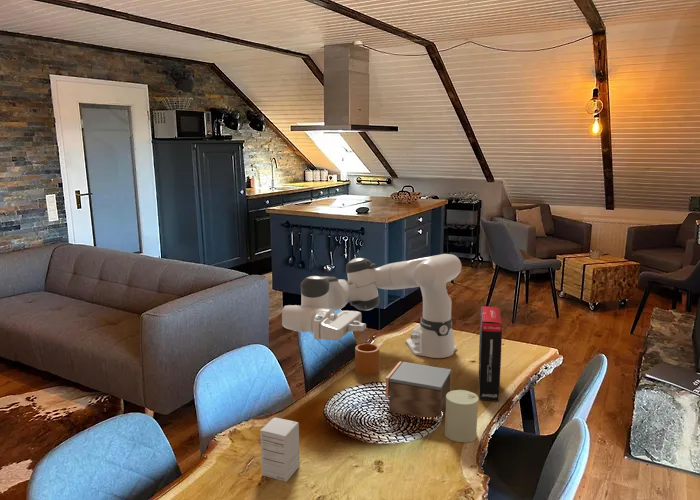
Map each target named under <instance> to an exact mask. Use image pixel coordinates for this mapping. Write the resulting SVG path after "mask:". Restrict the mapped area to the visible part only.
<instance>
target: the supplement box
mask: <svg viewBox="0 0 700 500" xmlns="http://www.w3.org/2000/svg"><path fill="white" fill-rule="evenodd" d="M299 425H300V424H299V422H297V421H294V420H289V419H286V418H284V419H283V418H280V417H272V418H271V420H270V421H268V423H266V424H265V425H264V426H263V427H262V428H261V429H260V431H259V432H260V433H259V434H260V438H259V439H260V458H261V459H260V460H261V475H262V476H264V477H267V478H270V479H275V480H278V481H282V482H288V481H289V480H290V478H291V477H293V475H294V473H295V472H296V471H297V470H298V469H299V468H300V467H301V466H300V465H301V464H300V463H301V461H300V457H301V456H300V426H299Z"/></svg>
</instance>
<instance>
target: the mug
mask: <svg viewBox="0 0 700 500" xmlns="http://www.w3.org/2000/svg"><path fill="white" fill-rule="evenodd" d="M354 354H355V355H354V359H355V360H354V366H355V368H354V369H355V370H354V371H355V373H357V374H358V373H359V375H362V376H373V375H377V374H378V373H380V347H379V345H377V344H375V343H368V342H366V343H365V342H364V343H359V344H357V345H355V348H354Z"/></svg>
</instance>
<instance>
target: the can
mask: <svg viewBox="0 0 700 500" xmlns="http://www.w3.org/2000/svg"><path fill="white" fill-rule="evenodd" d="M479 400H480V399H479V395H477V394H476V393H474V392H472V391H470V390H466V389H456V390H455V389H454V390H450V392H448V393H447V394H446V411H445V421H444V423H445V424H444V431H443V433H444V436H445V437H446V438H447V439H449V440H451V441H454V442H457V443H470V442H474V441H475V440H476V439H477V437H478V432H477V430H478V429H477V428H478V424H477V423H478V409H479Z"/></svg>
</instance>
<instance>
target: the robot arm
mask: <svg viewBox="0 0 700 500" xmlns="http://www.w3.org/2000/svg"><path fill="white" fill-rule="evenodd" d="M461 271H462V262H461V260H460V258H459V257H458V256H457V255H455V254H452V253H442V254H441V253H440V254H436V255H431V256H426V257H419V258H416V259H410V260H402V261H397V262H396V261H395V262H391V263H387V264H384V265H381V266H378V267H376V263H373V262H372V261H371V260H370V259H367V258H363V257H357V258H356V257H355V258H353V259H351V260H350V261H349V262H347V263H346V265H345V273H346V275H347V280H346V279H341V278H340V279H338V278H337V277H336V276H333V275H331V276H329V275H328V276H326V275H324V276H323V275H321V276H319V275H310V276H306V277H305V278H304V279H303V280H302V281H301V282H300V293H301V294H300V295H301V298H300V299H301V301H300V302H301V304H300V305H299V304H298V305H297V304H294V305H292V304H288V305H284V306H283V307H282V309H281V315H280V316H281V317H280V322H281V325H282V327H284V328H285V329H287V330H291V331H295V332H299V333H312V334H313V339H314V340H318V341H320V340H325V341H326V340H327V341H340V340H341V339H343V338H344V337H345V336H346V335H347V334H348V333H349V332H363V331H364V330H366V329H367V324H366V323H363V322H362V317H363V316H362V312H361V311H365V312H366V311H371V310H373V309H374V308H376V307H378V306H379V305H380V295H379V292H378V289H382V290H392V291H393V290H402V289H403V290H404V289H413V288H418V287H419V288H420V291H421V296H422V315H419V316H420V317H419V319H420V322H419V324H418V325H417V326H416V327H414V328H413V329H412V331H411V334H410V337H409V338H407V339H406V340H405V343H406V345H407V346H408V347H409V349H410V351H411V352H412V354H414V355H415V356H423V357H426V358H431V359H432V358H433V359H442V358H443V359H444V358H449V357H451V356H453V354H454V353H455V351H456V350H457V349H458V348H457V346H456V345H455V332H454V330H453V328H452V326H453V319H452V298H451V296H449V293H448V291H447V283H448V282H450V281H453V280H455V279H456V278H457V276H459V274H460V273H461ZM348 303H349V304H350V306H352V307H354V308H356V309H357V310H359V311H357V310H341V309H343V308H344V307H346V305H347V304H348ZM335 311H339V312H337V313H335Z"/></svg>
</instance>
